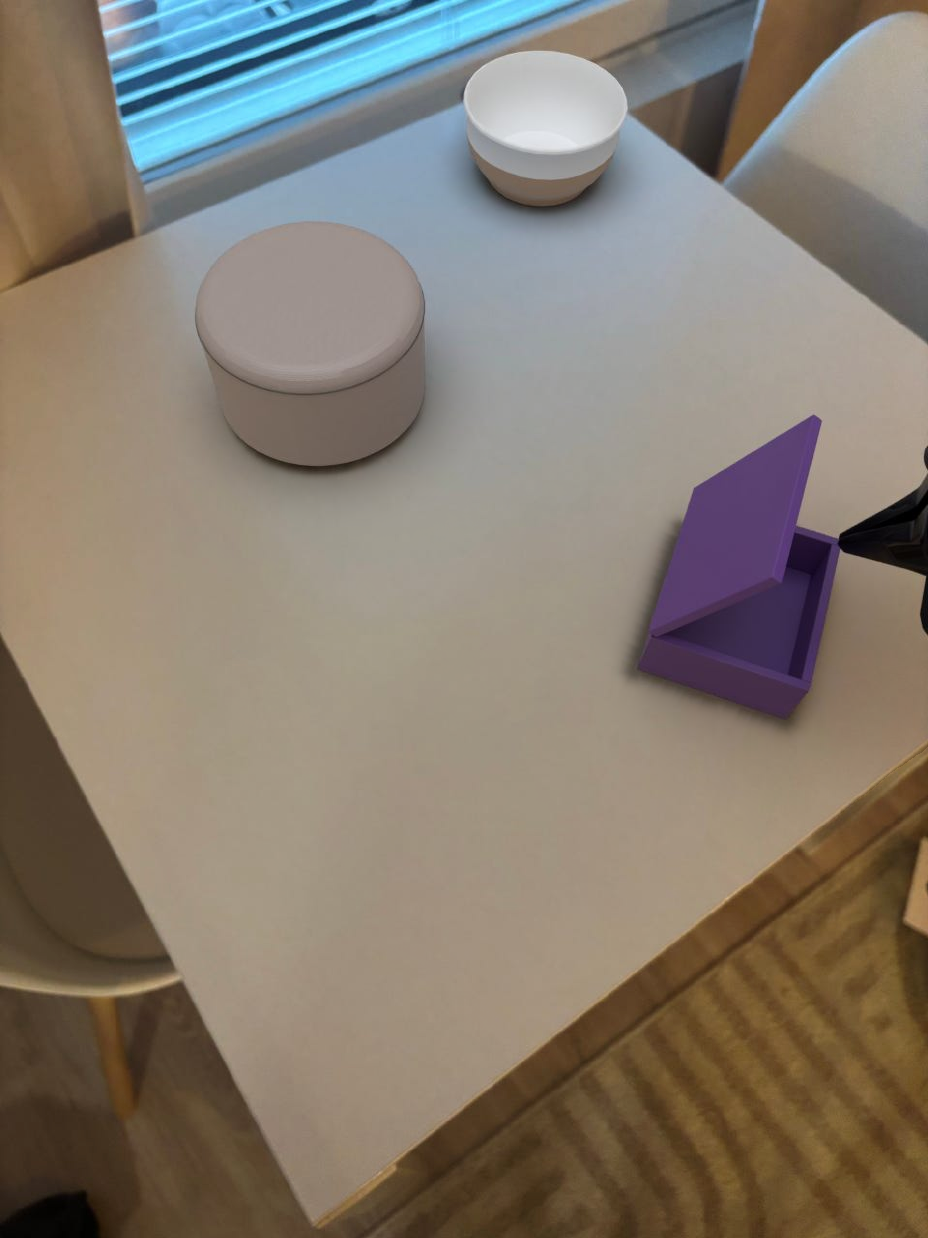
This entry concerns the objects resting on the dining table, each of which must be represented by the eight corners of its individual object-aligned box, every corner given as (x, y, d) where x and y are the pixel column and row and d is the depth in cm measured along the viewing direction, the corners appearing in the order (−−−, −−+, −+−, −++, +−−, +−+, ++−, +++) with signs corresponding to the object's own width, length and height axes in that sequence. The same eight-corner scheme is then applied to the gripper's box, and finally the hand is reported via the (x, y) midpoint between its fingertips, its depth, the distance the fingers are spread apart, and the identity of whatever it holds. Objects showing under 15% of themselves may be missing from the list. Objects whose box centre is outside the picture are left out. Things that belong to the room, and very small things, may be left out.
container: (180, 388, 83) (143, 283, 73) (338, 291, 89) (326, 182, 79) (307, 514, 77) (287, 420, 67) (468, 401, 83) (472, 299, 73)
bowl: (485, 235, 93) (489, 163, 86) (443, 135, 101) (444, 61, 94) (636, 209, 96) (652, 137, 89) (585, 113, 103) (596, 39, 96)
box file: (818, 574, 76) (842, 539, 71) (785, 719, 70) (809, 691, 65) (680, 531, 77) (696, 493, 73) (636, 668, 71) (650, 637, 67)
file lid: (822, 420, 62) (814, 413, 62) (782, 583, 56) (772, 576, 56) (701, 493, 72) (693, 487, 72) (656, 637, 66) (647, 632, 66)
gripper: (1087, 264, 50) (810, 356, 61) (1065, 539, 42) (748, 587, 53) (1145, 406, 56) (882, 466, 67) (1135, 673, 47) (836, 690, 59)
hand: (840, 543), depth 61 cm, fingers closed
